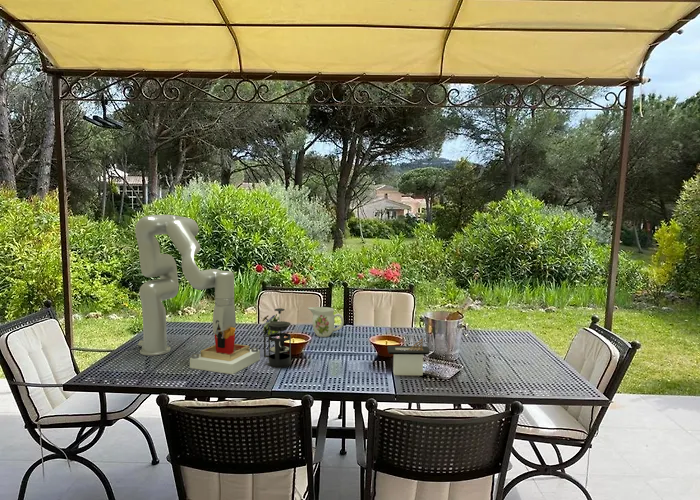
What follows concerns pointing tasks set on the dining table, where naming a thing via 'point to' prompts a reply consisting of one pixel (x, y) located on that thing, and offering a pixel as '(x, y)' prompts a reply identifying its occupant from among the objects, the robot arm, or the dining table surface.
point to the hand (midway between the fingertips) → (225, 345)
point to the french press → (278, 344)
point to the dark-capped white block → (408, 359)
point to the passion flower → (266, 326)
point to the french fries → (227, 341)
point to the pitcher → (324, 321)
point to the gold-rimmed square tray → (225, 359)
